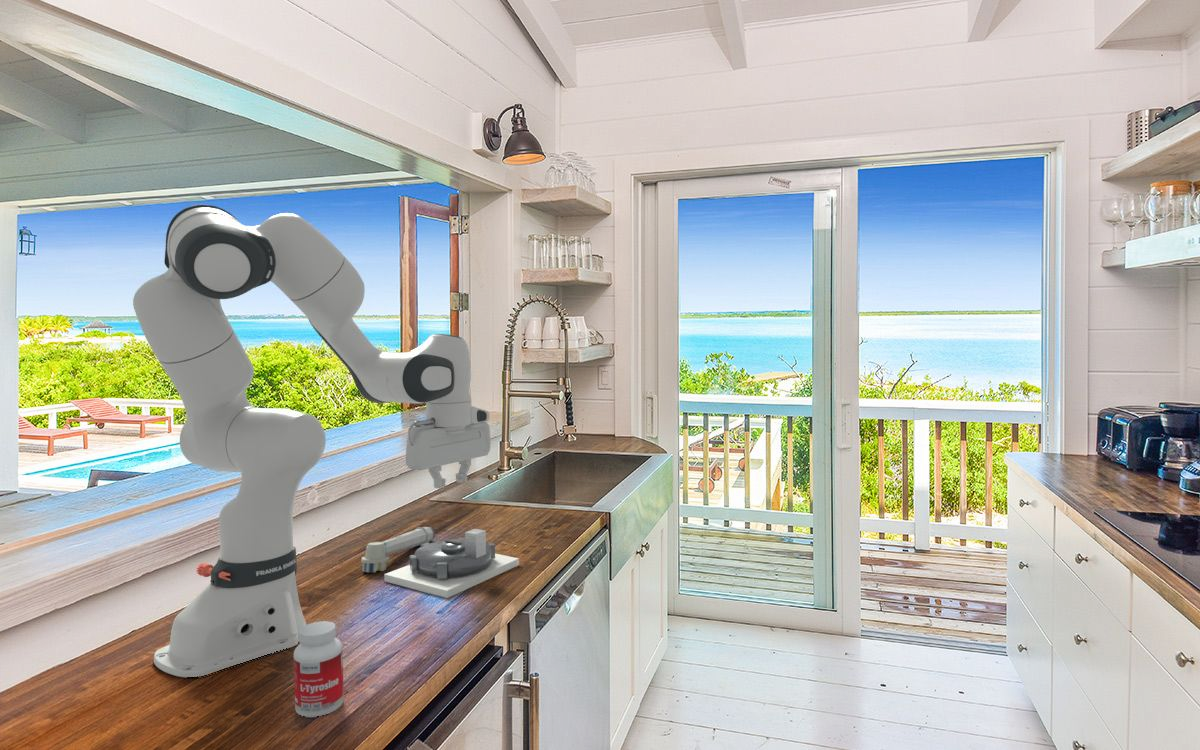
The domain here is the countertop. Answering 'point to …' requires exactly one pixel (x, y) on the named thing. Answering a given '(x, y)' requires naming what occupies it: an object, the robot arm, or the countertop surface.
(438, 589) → the base plate
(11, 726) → the countertop surface
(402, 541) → the toothbrush head
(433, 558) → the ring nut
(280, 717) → the countertop surface
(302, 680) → the pill bottle
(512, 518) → the countertop surface
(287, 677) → the countertop surface
